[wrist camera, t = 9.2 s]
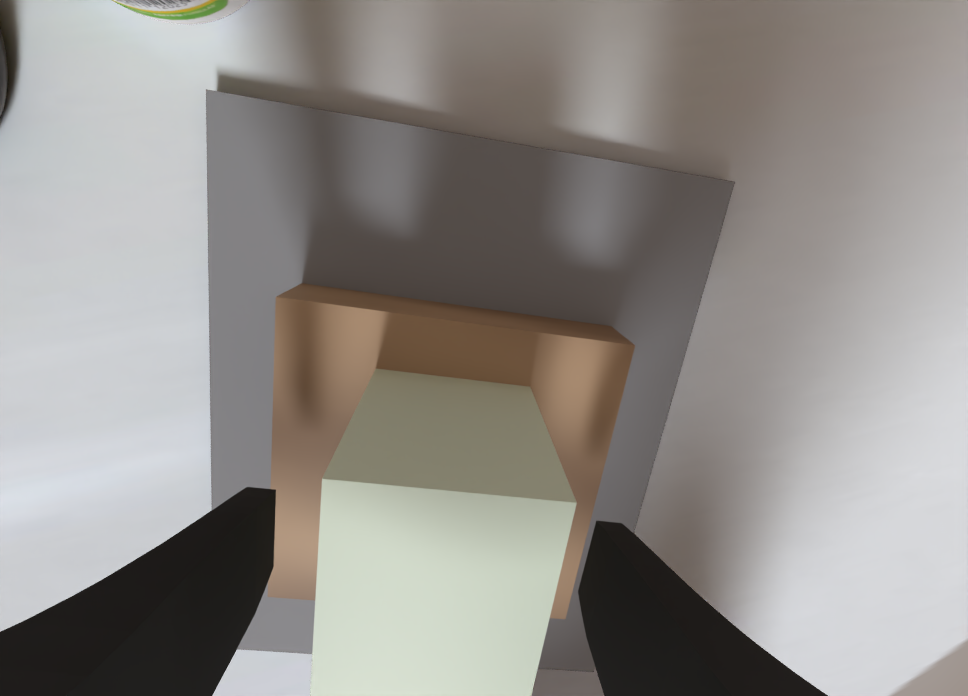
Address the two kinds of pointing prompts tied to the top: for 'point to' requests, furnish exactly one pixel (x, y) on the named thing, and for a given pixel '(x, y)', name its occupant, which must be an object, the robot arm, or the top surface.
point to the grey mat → (442, 277)
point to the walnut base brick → (432, 351)
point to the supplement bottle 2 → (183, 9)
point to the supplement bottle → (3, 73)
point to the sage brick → (438, 541)
